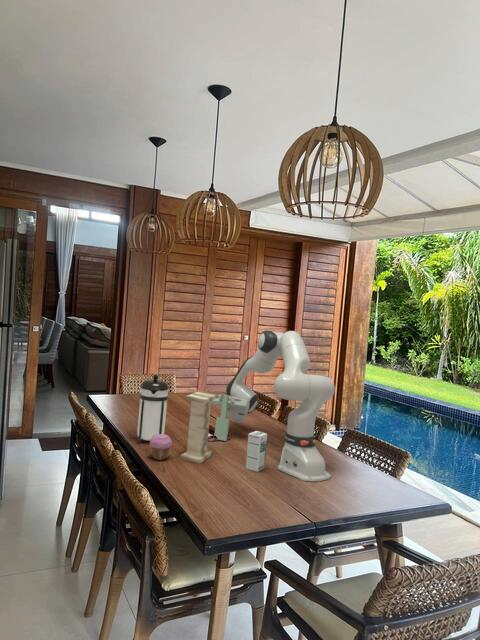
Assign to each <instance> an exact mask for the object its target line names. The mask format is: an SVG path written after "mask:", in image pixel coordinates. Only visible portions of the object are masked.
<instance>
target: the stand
mask: <svg viewBox="0 0 480 640" xmlns="http://www.w3.org/2000/svg"><path fill="white" fill-rule="evenodd" d="M218 395H219V394H216V393H211V392H205V391H199V390H198V391H196V392H193V393H191V394H187V395H185V396H184V397H185V401H189V402H191V403H190V414H189V422H188V423H189V424H188V437H187V445H186V451H185V452H184V453H181V454H180V455H179V460H182V461H186V462H190V463H197V464H202V463H203V462H204V461H205V460H207V459H209V457H211V456H213V450H208V441H209V430H210V421H211V420H210V418H211V409H212V404H211V401H212V400H214V399H216V398H218Z"/></svg>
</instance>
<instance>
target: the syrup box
mask: <svg viewBox="0 0 480 640" xmlns="http://www.w3.org/2000/svg"><path fill="white" fill-rule="evenodd" d="M267 442H268V433H266V432H263V431H258V430H255V431H252V432H250V433H248V435H247V446H246V447H247V449H246V450H247V451H246V462H245V469H246V470H250V471H253V472H257V473H259V472H261V470H264V469H265V467H266V454H267V445H268V444H267Z"/></svg>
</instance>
